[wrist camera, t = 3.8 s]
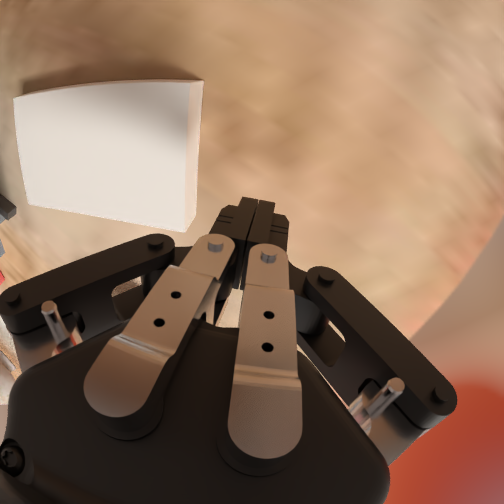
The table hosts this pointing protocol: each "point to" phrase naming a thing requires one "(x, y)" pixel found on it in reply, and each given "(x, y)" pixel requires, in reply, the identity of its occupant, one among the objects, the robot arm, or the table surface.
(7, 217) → the grey miniature bench
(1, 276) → the ink cartridge box
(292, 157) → the table surface
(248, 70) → the table surface
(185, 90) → the white eraser-like slab
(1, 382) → the ceramic pitcher
